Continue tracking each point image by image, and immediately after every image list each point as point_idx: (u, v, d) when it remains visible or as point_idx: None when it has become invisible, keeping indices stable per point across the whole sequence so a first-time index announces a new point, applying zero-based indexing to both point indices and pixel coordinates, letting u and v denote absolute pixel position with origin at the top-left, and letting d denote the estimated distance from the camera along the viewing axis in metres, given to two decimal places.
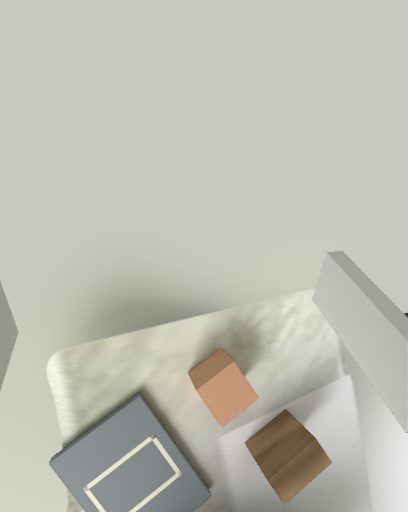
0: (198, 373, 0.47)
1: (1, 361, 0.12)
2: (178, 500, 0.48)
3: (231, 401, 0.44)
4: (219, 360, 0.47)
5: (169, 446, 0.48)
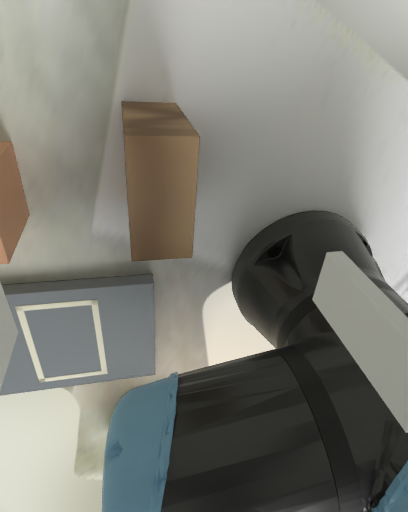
0: None
1: (1, 361, 0.12)
2: (127, 315, 0.35)
3: None
4: None
5: (47, 297, 0.31)
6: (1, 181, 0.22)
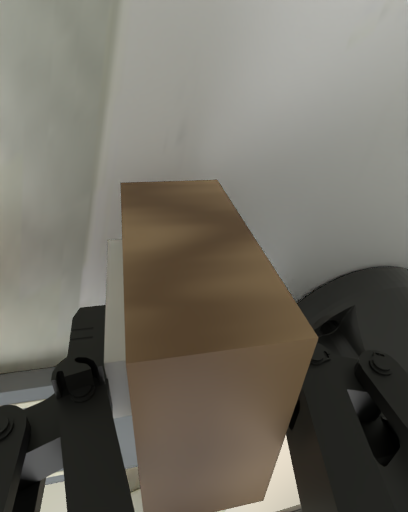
0: None
1: None
2: None
3: None
4: None
5: (21, 396, 0.23)
6: None
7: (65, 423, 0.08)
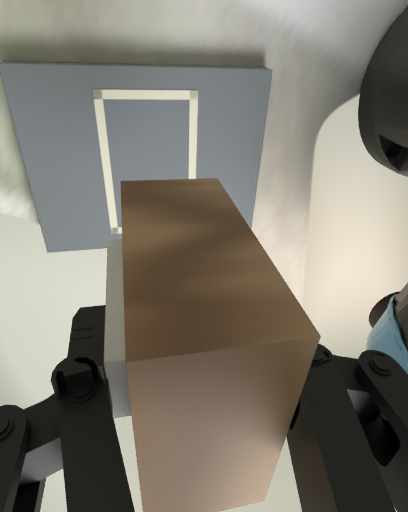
0: None
1: None
2: (231, 126, 0.26)
3: None
4: None
5: (135, 77, 0.23)
6: None
7: (65, 423, 0.08)
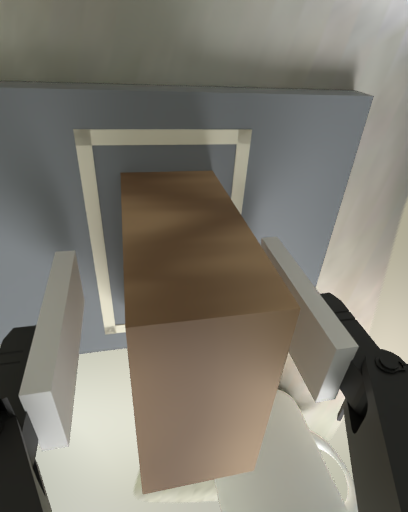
0: None
1: (79, 321, 0.13)
2: (297, 182, 0.16)
3: None
4: None
5: (149, 109, 0.13)
6: None
7: None
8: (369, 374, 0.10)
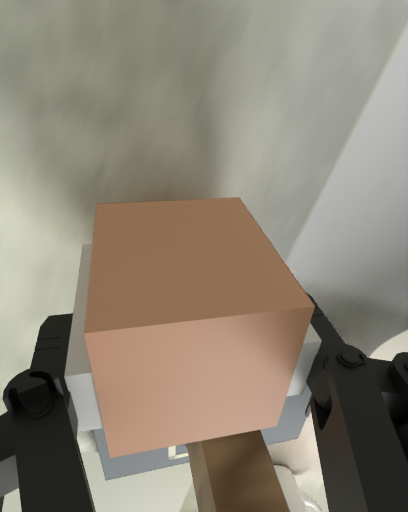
0: None
1: None
2: None
3: (234, 387, 0.11)
4: None
5: None
6: None
7: (21, 442, 0.08)
8: (332, 370, 0.10)
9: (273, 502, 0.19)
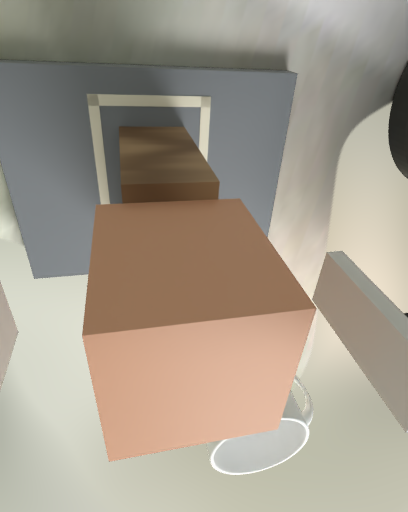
0: None
1: (1, 361, 0.12)
2: (247, 137, 0.23)
3: (235, 390, 0.11)
4: None
5: (138, 80, 0.19)
6: None
7: None
8: None
9: (195, 170, 0.15)
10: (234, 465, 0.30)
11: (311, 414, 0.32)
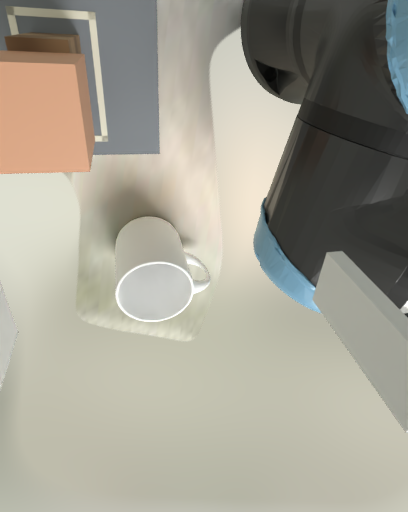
0: None
1: (1, 361, 0.12)
2: (127, 46, 0.32)
3: (48, 124, 0.20)
4: None
5: None
6: (82, 84, 0.21)
7: None
8: None
9: (59, 38, 0.24)
10: (141, 315, 0.40)
11: (205, 283, 0.42)
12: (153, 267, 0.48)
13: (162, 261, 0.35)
